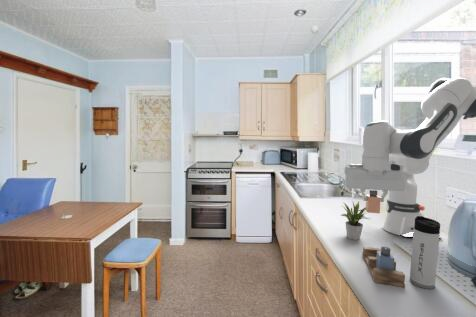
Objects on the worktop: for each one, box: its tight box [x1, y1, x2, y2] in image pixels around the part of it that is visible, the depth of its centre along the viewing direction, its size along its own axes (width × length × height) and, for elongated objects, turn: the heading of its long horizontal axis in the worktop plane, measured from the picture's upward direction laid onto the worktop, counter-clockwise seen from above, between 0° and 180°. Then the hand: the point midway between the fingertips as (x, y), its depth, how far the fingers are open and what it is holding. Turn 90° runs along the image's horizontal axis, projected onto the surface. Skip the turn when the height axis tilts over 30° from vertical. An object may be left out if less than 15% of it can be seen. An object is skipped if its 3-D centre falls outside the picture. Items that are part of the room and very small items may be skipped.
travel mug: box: [409, 216, 441, 290], centre depth 77 cm, size 6×7×20 cm
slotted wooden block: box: [362, 246, 406, 288], centre depth 86 cm, size 8×19×4 cm, turn 164°
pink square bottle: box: [365, 189, 381, 214], centre depth 96 cm, size 4×4×8 cm
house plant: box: [340, 200, 372, 241], centre depth 110 cm, size 14×14×16 cm
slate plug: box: [376, 246, 395, 270], centre depth 81 cm, size 4×4×8 cm
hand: (373, 201), depth 96 cm, fingers closed on pink square bottle, 4 cm apart
